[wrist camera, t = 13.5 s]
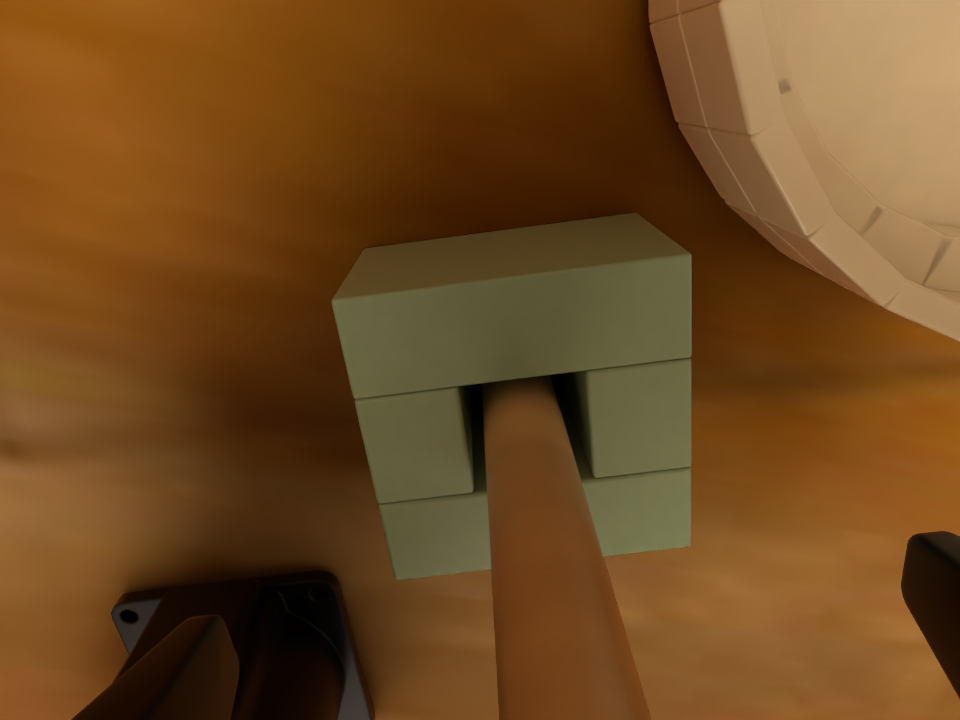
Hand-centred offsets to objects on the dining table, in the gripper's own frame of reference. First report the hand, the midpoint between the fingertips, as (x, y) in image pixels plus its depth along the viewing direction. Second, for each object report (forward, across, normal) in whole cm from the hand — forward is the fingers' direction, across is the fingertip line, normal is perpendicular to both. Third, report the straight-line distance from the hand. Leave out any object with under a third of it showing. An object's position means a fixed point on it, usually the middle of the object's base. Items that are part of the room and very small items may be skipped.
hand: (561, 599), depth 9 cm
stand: (+8, 0, 0) cm, 8 cm away
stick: (+8, 0, 0) cm, 8 cm away
